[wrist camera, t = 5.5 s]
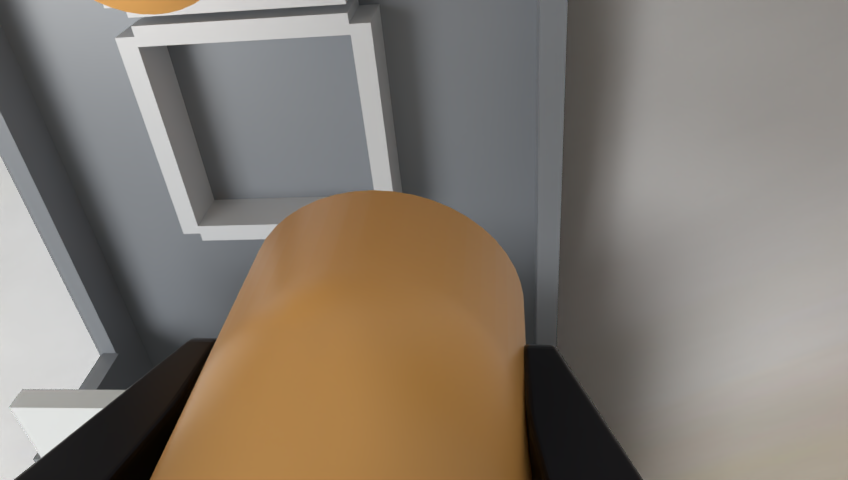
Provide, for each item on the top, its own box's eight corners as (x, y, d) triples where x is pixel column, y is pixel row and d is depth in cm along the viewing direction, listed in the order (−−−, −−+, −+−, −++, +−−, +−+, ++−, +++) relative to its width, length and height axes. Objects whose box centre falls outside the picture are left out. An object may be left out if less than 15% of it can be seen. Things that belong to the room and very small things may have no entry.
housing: (570, -386, 13) (618, -470, 8) (547, 480, 28) (558, 640, 23) (-147, -294, 15) (-482, -315, 10) (196, 472, 30) (136, 619, 25)
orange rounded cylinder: (529, 190, 9) (556, 573, 5) (519, 403, 11) (533, 785, 7) (223, 190, 9) (5, 543, 5) (277, 396, 11) (156, 752, 7)
